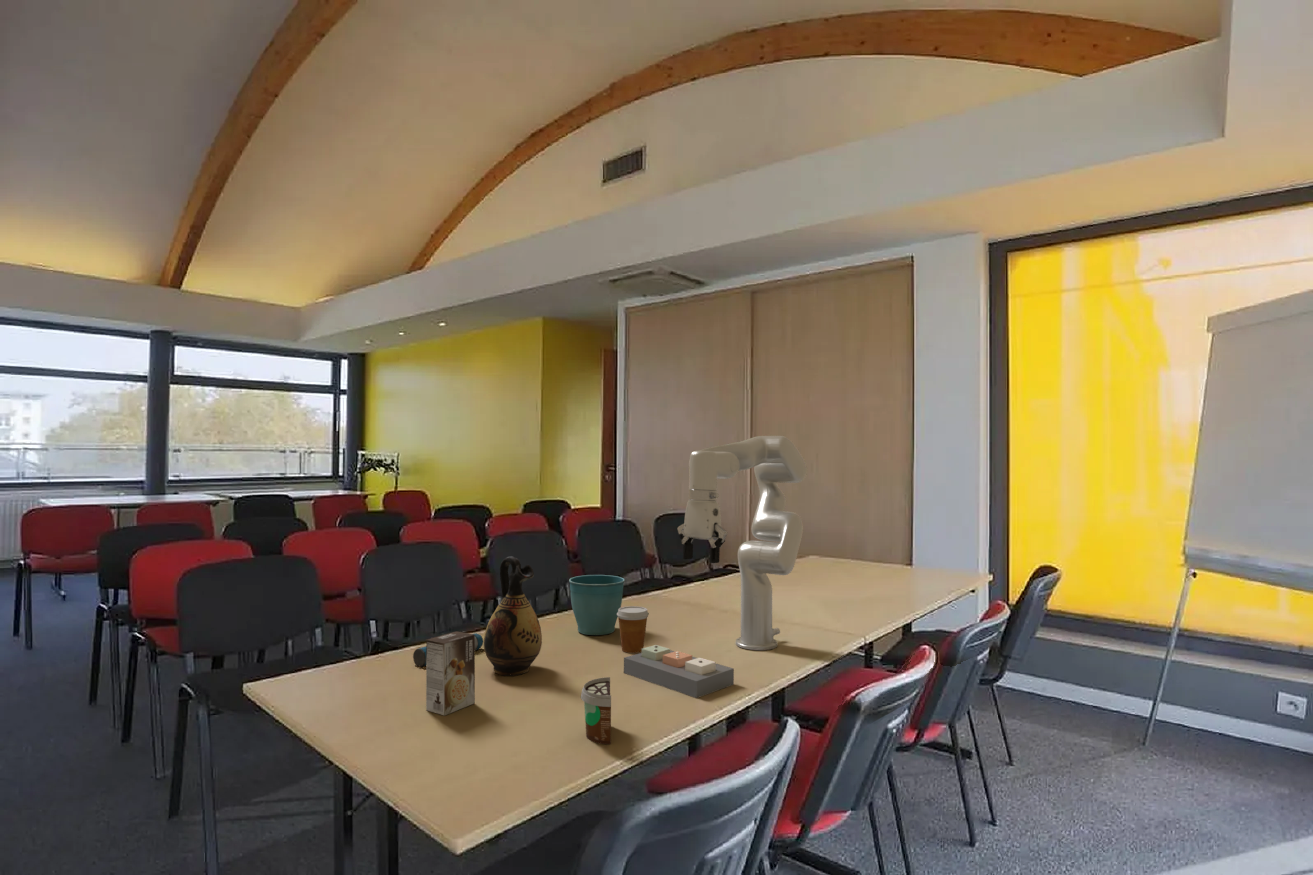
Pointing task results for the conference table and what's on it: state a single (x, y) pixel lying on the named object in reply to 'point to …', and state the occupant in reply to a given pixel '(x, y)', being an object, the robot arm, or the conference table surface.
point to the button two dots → (655, 652)
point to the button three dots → (676, 659)
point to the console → (678, 676)
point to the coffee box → (450, 672)
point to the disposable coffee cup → (632, 628)
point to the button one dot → (700, 666)
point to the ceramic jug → (513, 624)
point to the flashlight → (420, 653)
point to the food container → (597, 710)
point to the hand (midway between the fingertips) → (700, 560)
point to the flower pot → (596, 602)
